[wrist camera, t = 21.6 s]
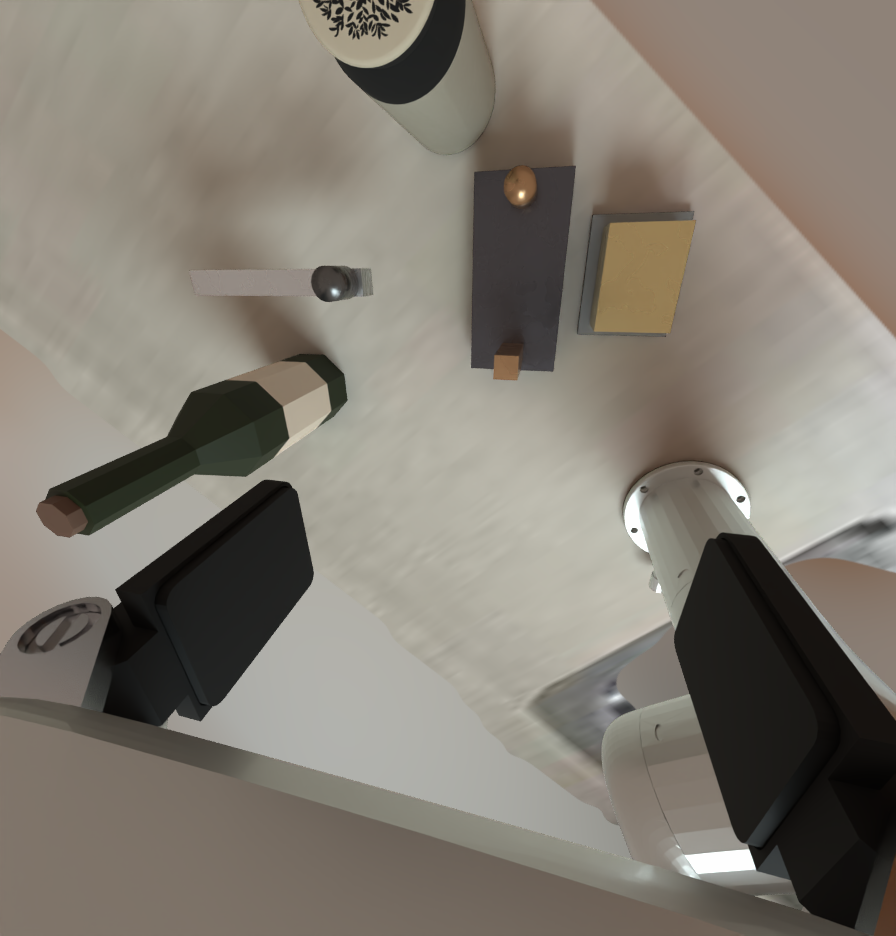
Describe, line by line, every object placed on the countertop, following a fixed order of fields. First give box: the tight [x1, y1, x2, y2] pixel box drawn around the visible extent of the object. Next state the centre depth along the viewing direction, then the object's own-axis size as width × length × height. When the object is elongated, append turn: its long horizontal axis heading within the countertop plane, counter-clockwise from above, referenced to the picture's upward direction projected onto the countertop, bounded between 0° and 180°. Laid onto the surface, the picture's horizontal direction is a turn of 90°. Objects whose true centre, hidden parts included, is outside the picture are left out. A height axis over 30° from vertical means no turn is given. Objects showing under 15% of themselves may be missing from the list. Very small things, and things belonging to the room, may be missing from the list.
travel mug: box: [299, 0, 495, 155], centre depth 26 cm, size 8×8×18 cm
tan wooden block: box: [590, 220, 696, 333], centre depth 34 cm, size 8×6×5 cm
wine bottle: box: [36, 354, 347, 538], centre depth 36 cm, size 8×8×30 cm
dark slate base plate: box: [471, 165, 576, 380], centre depth 35 cm, size 16×8×10 cm, turn 1°
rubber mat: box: [577, 211, 694, 337], centre depth 37 cm, size 10×8×1 cm
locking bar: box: [189, 266, 373, 302], centre depth 33 cm, size 2×16×5 cm, turn 91°
